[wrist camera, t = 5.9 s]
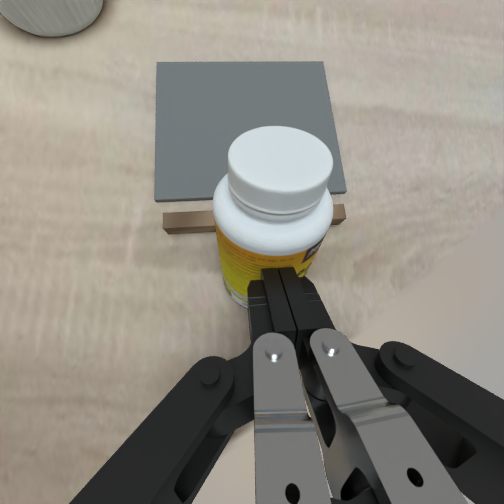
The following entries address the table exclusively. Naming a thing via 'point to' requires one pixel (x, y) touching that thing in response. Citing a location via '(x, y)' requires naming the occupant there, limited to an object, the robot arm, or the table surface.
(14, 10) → the ramekin
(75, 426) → the table surface
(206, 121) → the mat
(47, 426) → the table surface
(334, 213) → the rail
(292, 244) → the supplement bottle
